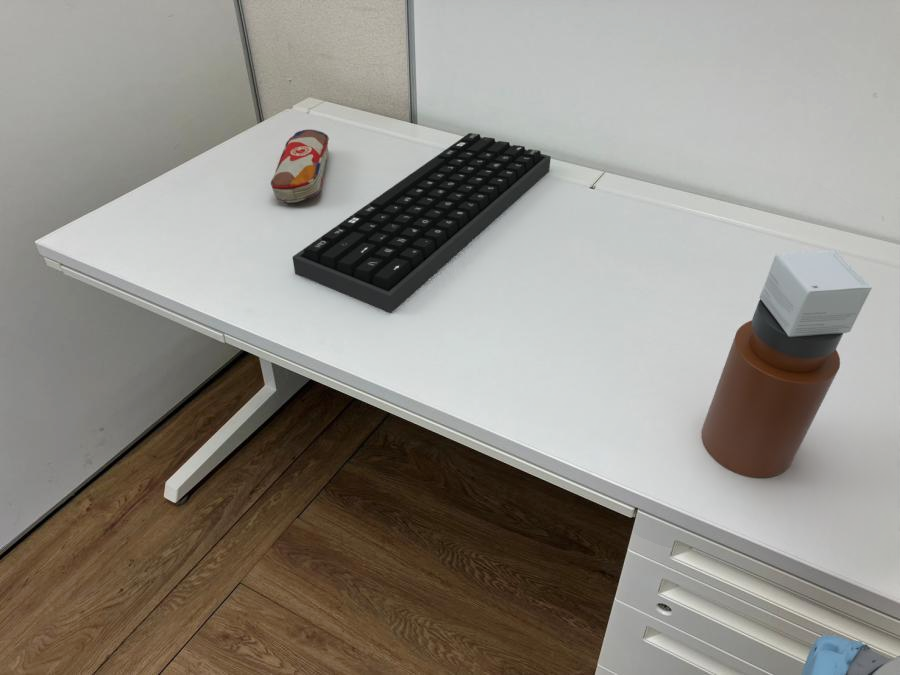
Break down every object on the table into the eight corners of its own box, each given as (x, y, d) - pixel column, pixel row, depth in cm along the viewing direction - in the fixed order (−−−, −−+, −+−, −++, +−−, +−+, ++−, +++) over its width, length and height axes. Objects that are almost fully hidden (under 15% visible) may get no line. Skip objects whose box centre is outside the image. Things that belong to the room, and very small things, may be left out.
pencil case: (247, 202, 108) (241, 173, 105) (296, 148, 123) (292, 120, 120) (314, 211, 107) (310, 181, 103) (356, 154, 121) (354, 127, 118)
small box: (851, 333, 59) (875, 287, 56) (787, 339, 58) (807, 291, 55) (816, 293, 63) (836, 247, 60) (756, 297, 63) (773, 251, 60)
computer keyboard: (467, 148, 123) (468, 127, 121) (549, 171, 117) (551, 149, 114) (295, 273, 94) (291, 249, 92) (390, 313, 88) (389, 288, 85)
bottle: (812, 463, 70) (881, 334, 59) (738, 489, 68) (796, 358, 57) (753, 402, 76) (806, 275, 65) (683, 423, 74) (725, 295, 63)
